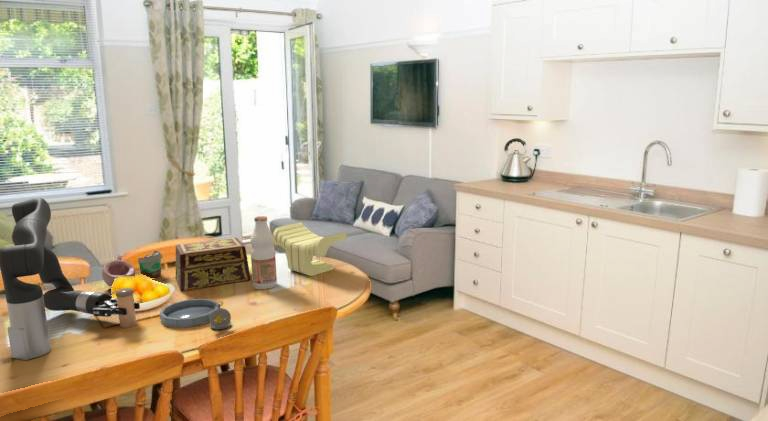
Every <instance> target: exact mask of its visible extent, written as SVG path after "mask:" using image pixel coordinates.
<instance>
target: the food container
mask: <svg viewBox="0 0 768 421" xmlns="http://www.w3.org/2000/svg"><path fill="white" fill-rule="evenodd" d="M162 254H163V253H161V251H159V250H154V251H153V253H151V254H146V255H145V256H144V257H138V259H137V263H138V265H139V270H140V275H141V274H143V275H146V276H147V277H150V278H156V279H159V278H161V277H162V259H163V255H162ZM156 279H155V280H156Z"/></svg>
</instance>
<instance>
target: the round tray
mask: <svg viewBox="0 0 768 421" xmlns="http://www.w3.org/2000/svg"><path fill="white" fill-rule="evenodd" d="M216 302H217V301H215V300H213V299H207V298H193V299H191V298H190V299H185V300H180V301H176V302H172V303H170V304H169V305H166V306H164V307H162V309H161V310H160V311H159V319H160V323H161V324H162V325H164V326H166V327H170V328H190V327H191V328H192V327H196V326H197V327H198V326H200V325H204V324H208V323H210V321H209V317H210V314H211V312H212V311H214V310H215V309H218V307H217V306H215V303H216ZM218 304H219V302H218V303H216V305H218ZM215 318H216V317H215Z"/></svg>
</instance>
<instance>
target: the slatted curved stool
mask: <svg viewBox="0 0 768 421" xmlns="http://www.w3.org/2000/svg"><path fill="white" fill-rule="evenodd" d="M272 234H273V236H274V243H273V246H278V247H281V248H282V250H284V252H285V257H286V260H287V262H286V263H287V268H288V269H289V270H290V271H294V272H298V273H299V274H304V275H306V276H310V277H312V276H315V275H319V274H322V273H326V272H329V271H331V270H332V271H333V270H335V267H334V265H333V263H329V262H326V261H322V260H321V261H320V260H319V259H314V260H313V258H314V256H315V257H317V258H321V257H324V256H327V252H328V250H329V248H330V247H331V246H333V244H335V243H337V242H340V241H344V240H346V239H347V232H346V231H344V232H341V233H337V234H334V235H329V236H326V237H324V236H320V235H318V234H316V233H315V232H313V231H311V230H310V229H309V228H308V227H307V226H305V225H304V223H302V221H300V222H296V223H291V224H286V225H282V226H278V227H276V228H275V229H274V231H273V233H272Z"/></svg>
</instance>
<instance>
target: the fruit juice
mask: <svg viewBox="0 0 768 421" xmlns="http://www.w3.org/2000/svg"><path fill="white" fill-rule="evenodd" d="M253 220H254V228H253V231H252V233H251V235H250V244H251V251H250V259H251V272H252V273H251V275H252V286H253V288H255V289H258V290H267V289H272V288H275V287H277V284H278V279H277V263H276V262H277V260H276V250H275V248H274V247H275V246H274V245H273V243H274V236H273V233H272V231H271V230H270V228H269V225H268V223H267V222H268V216H265V215H262V216H261V215H260V216H255V217H254V219H253Z"/></svg>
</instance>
